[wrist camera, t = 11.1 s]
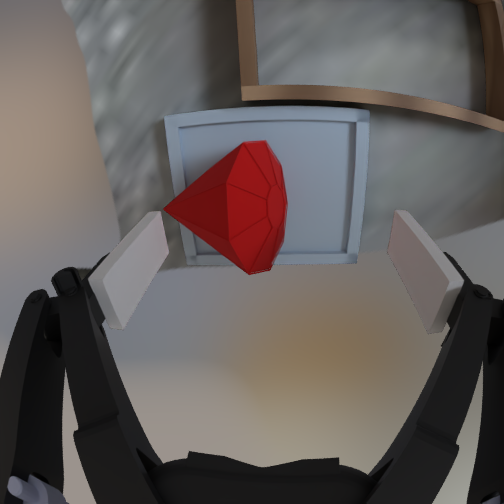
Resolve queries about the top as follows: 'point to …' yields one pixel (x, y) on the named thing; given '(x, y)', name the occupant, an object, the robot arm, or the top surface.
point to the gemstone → (238, 207)
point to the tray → (284, 173)
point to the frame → (497, 91)
